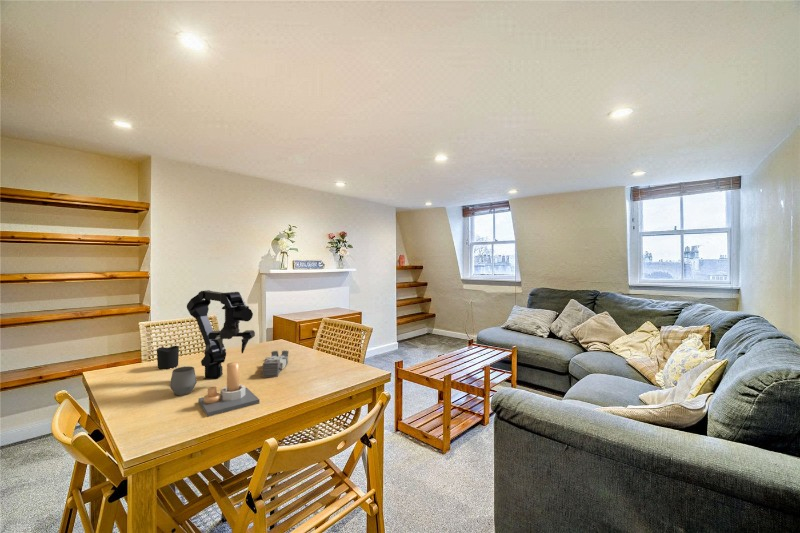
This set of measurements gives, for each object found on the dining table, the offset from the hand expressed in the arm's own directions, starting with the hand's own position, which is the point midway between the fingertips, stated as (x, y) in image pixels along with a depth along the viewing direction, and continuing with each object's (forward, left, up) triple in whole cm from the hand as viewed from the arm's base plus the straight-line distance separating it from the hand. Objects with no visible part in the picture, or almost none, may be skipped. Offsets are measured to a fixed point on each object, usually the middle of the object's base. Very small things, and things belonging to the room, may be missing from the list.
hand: (231, 353), depth 157 cm
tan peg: (+8, -21, -12) cm, 25 cm away
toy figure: (+15, +20, -14) cm, 28 cm away
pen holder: (-40, +24, -13) cm, 49 cm away
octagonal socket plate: (+7, -24, -13) cm, 28 cm away
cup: (-15, -12, -13) cm, 23 cm away
